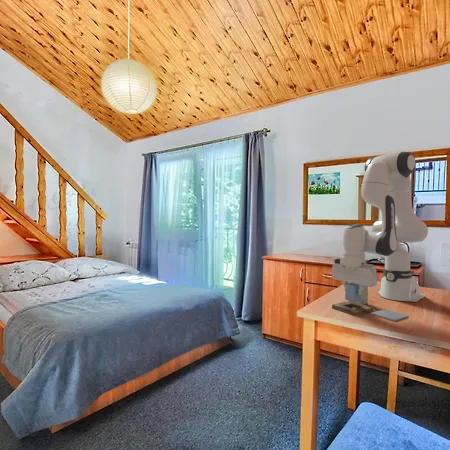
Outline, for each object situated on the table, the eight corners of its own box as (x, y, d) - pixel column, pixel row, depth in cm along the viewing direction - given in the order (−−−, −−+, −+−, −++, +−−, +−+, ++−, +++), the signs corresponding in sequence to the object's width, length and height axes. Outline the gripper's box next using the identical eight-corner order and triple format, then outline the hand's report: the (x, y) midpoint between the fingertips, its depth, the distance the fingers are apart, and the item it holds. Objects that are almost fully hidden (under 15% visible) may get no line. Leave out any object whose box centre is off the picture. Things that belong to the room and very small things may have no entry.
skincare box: (368, 304, 143) (368, 278, 143) (360, 304, 142) (360, 278, 141) (358, 300, 149) (359, 275, 149) (350, 301, 148) (351, 275, 147)
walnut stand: (349, 303, 143) (349, 300, 143) (373, 311, 133) (373, 307, 133) (332, 308, 137) (332, 304, 137) (355, 315, 127) (356, 312, 127)
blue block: (351, 298, 138) (352, 282, 138) (360, 300, 134) (361, 284, 134) (345, 299, 136) (345, 283, 135) (354, 302, 132) (354, 285, 132)
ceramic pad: (384, 310, 134) (384, 309, 134) (408, 317, 125) (408, 315, 125) (370, 314, 129) (370, 312, 129) (394, 321, 120) (394, 320, 120)
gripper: (380, 264, 127) (380, 297, 128) (339, 257, 144) (338, 287, 145) (371, 265, 124) (370, 299, 124) (329, 259, 141) (329, 288, 142)
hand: (353, 292), depth 135 cm, fingers closed on blue block, 4 cm apart
